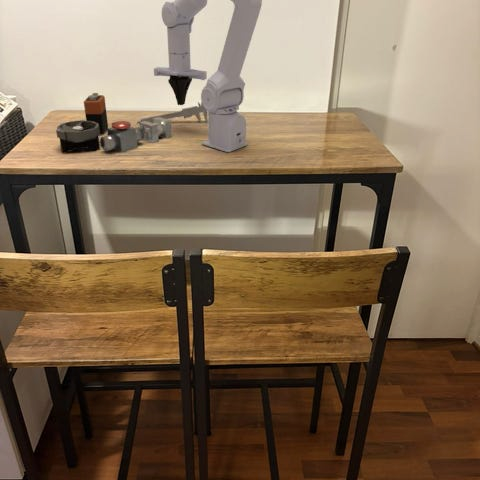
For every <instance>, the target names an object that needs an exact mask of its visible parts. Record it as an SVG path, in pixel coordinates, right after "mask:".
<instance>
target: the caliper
mask: <svg viewBox="0 0 480 480" xmlns="http://www.w3.org/2000/svg"><path fill="white" fill-rule="evenodd" d="M197 104H198V105H193V106H189V107H184V108H181V110H176V111H171V112H165V113H161V114H156V115H151V116H146V117H142V118H140V120H137V121H136V124H139V123H140V122H143V121H147V122H151V123H153V118H156V117H161V118H165V119H169V120H171V119H174V118H180V117H183V118H184V119H188V118H192V116H195V117H196V119H197V121H198V122H199V123H202V118H201V114H200V113H203V116H204V120H205V123H207V122H208V112H207V111H206V109H205V108H204V106H203V104H202V101H201V102H199V101H198V102H197Z"/></svg>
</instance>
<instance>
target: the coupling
mask: <svg viewBox="0 0 480 480" xmlns="http://www.w3.org/2000/svg"><path fill="white" fill-rule="evenodd" d="M171 121H172V120H171V119H165V118H161V117H156V118H153V122H147V121H143V122H140V123H138V124H139V127H140V128H141V129H142V130H143V133H144V139H143V140H142V141H145V142H149V143H152V144H154V143H157V142H159V138H160V137H161V138H163V139H169V138H171V137H172V122H171Z"/></svg>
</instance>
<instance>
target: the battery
mask: <svg viewBox="0 0 480 480" xmlns="http://www.w3.org/2000/svg"><path fill="white" fill-rule="evenodd" d="M105 98H106V97H105V95H104V94H103V95H99V93H98V92H93V93H92V94H89V95H88V97H86V98H85V100H84V101H83V106H84V113H85V121H93V122H96V123H98V124H99V130H100V135H104V134H105V133H106V132H107V128H109V126H108V125H109V123H108V114H107V105H106V99H105Z"/></svg>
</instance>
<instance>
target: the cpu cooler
mask: <svg viewBox="0 0 480 480" xmlns="http://www.w3.org/2000/svg"><path fill="white" fill-rule="evenodd" d="M55 132H56V138H58V139H59V142H60V147H61V153H62V154H64V153H66V154H68V153H69V154H76V153H77V152H78V153H81V152H82V151H83V153H84V152H88V153H89V152H92V151H93V152H96V151H97V150H98V151H99V150H101V144H100V138H99V137H100V136H101V134H100V130H99V124H98V123H96V122H93V121H86V119H85V120H83V119H82V120H74V121H73V120H71V121H67V122H62V123H60V124H59V125H57V127H56V131H55Z"/></svg>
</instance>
